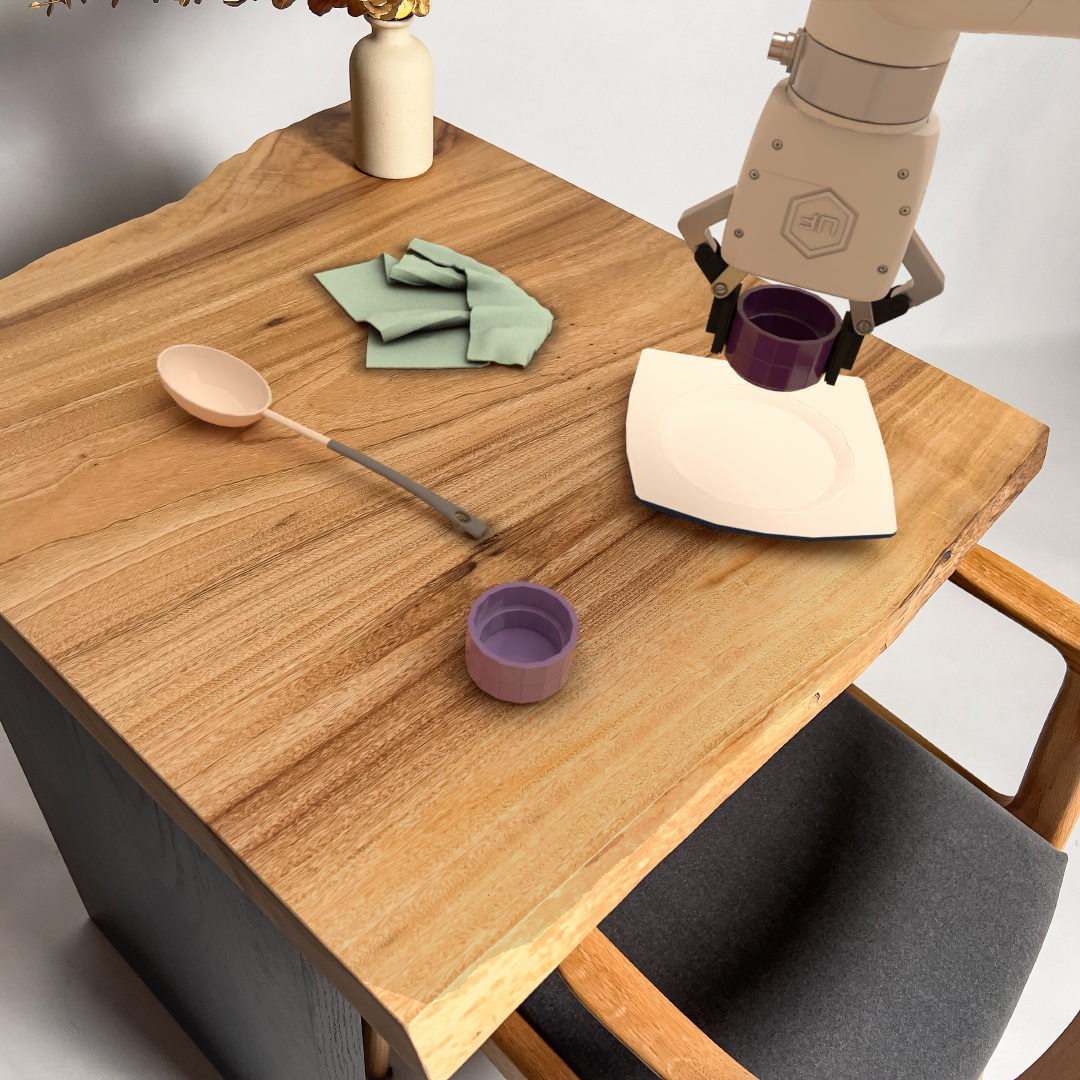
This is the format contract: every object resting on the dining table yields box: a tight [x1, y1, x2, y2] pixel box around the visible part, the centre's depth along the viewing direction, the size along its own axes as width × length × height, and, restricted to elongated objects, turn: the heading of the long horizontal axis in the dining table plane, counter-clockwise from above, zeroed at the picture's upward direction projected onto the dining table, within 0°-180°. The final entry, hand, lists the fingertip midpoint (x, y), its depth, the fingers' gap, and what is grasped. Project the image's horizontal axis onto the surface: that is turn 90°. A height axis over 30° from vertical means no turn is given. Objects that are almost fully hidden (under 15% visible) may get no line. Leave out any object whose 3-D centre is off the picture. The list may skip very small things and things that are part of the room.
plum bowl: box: [723, 283, 842, 392], centre depth 64 cm, size 7×7×4 cm
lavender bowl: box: [464, 580, 580, 704], centre depth 61 cm, size 7×7×4 cm
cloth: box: [313, 237, 555, 370], centre depth 88 cm, size 20×22×2 cm
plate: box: [624, 347, 898, 543], centre depth 77 cm, size 20×20×3 cm
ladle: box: [156, 343, 489, 539], centre depth 73 cm, size 6×28×5 cm, turn 61°
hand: (775, 356), depth 64 cm, fingers closed on plum bowl, 6 cm apart
